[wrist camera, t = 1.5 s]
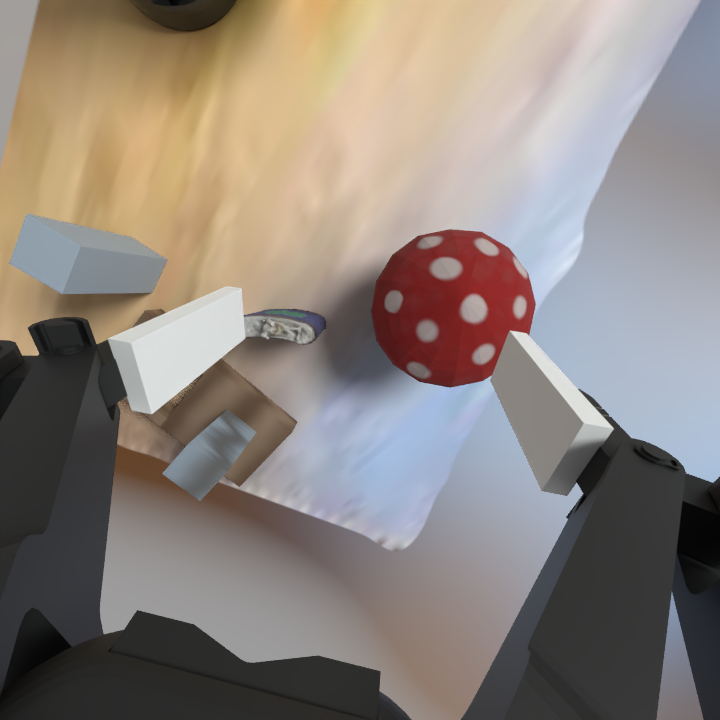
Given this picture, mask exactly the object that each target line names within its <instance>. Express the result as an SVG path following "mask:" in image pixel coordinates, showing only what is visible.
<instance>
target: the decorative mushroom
mask: <svg viewBox="0 0 720 720" xmlns="http://www.w3.org/2000/svg"><path fill="white" fill-rule="evenodd" d="M535 305H536V303H535V299H534V295H533V291H532V287H531V283H530V279H529V275H528V273H527V271H526V270H525V269H524V267H523V266H522V265H521V263H520V262H519V261H518V259H517V258H516V257H515V255H514V254H513V253H512V251H511V250H510V249H509V248H508V247H506V246H505V245H503V244H501V243H500V242H498V241H496V240H494V239H493V238H491V237H489V236H488V235H486V234H484V233H483V232H475V231H463V230H451V229H450V230H444V231H440V232H435V233H430V234H425V235H420V236H417V237H416V238H415V239H413V240H412V241H411V242H409V243H408V244H406V245H405V246H404V247H402V248H401V249H400V250H398V251H397V252H396V253H394V254H393V255H392V257H391V258H390V260H389V262H388V263H387V265H386V267H385V268H384V270H383V271H382V273H381V275H380V276H379V278H378V280H377V281H376V287H375V293H374V298H373V304H372V309H371V313H372V318H373V324H374V330H375V335H376V341H377V342H378V343H379V345H380V346H381V348H382V349H383V350H384V352H385V353H386V355H387V356H388V357H389V359H390V360H391V361H392V363H393V364H394V365H395V366H396V367H398V368H399V369H401V370H402V371H404V372H405V373H407V374H408V375H410V376H412V377H413V378H415V379H416V380H418V381H419V382H423V383H429V384H434V385H439V386H445V387H455V386H460V385H465V384H470V383H475V382H480V381H483V380H485V379H486V378H488V377H490V376H491V375H492V374H493V372H494V369H495V366H496V364H497V361H498V359H499V356H500V354H501V351H502V348H503V346H504V343H505V341H506V338H507V336H508V333H509V331H516V332H522V333H527V334H528V336H529V333H530V328H531V324H532V319H533V314H534V310H535Z"/></svg>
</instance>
